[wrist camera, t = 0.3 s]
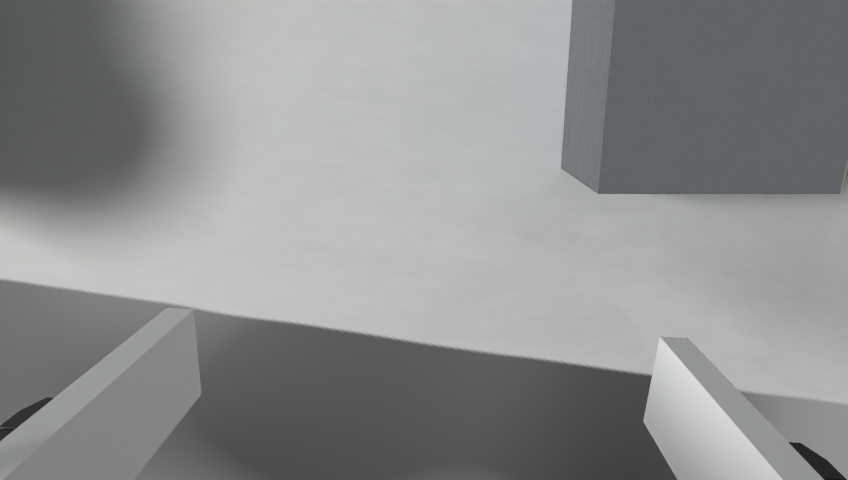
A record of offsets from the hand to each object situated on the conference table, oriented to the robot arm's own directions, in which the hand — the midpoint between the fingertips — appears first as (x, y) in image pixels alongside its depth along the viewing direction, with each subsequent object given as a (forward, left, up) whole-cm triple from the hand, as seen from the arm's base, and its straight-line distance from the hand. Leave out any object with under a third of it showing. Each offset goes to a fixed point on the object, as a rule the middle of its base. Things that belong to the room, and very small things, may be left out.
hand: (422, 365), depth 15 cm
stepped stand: (-13, +18, -27) cm, 35 cm away
